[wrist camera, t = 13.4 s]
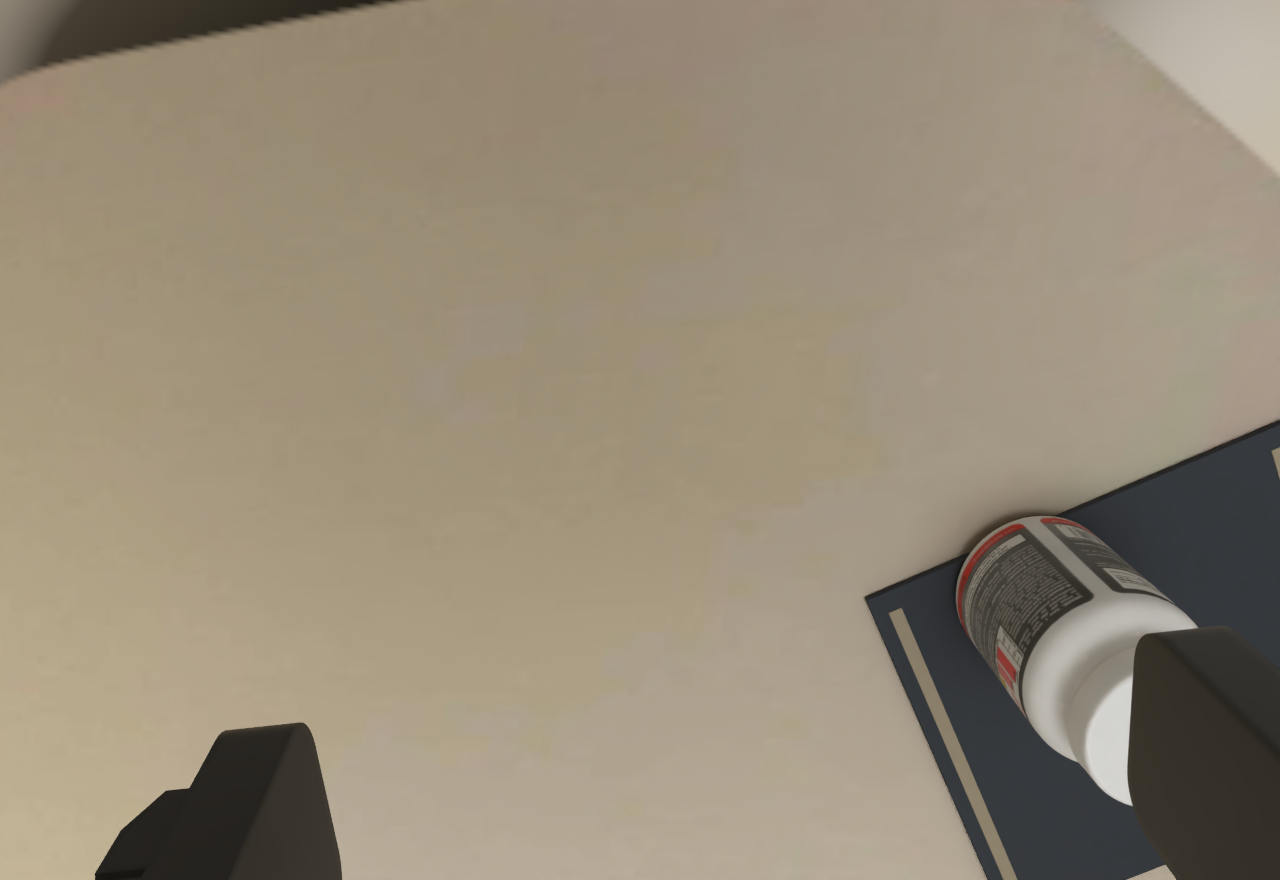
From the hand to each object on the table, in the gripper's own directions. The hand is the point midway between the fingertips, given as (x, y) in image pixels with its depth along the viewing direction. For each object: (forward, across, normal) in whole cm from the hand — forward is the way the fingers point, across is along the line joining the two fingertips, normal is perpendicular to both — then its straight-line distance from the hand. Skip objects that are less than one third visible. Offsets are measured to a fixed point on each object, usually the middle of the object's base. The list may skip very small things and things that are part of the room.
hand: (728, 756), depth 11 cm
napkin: (+26, -18, +18) cm, 36 cm away
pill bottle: (+26, -13, +13) cm, 32 cm away
